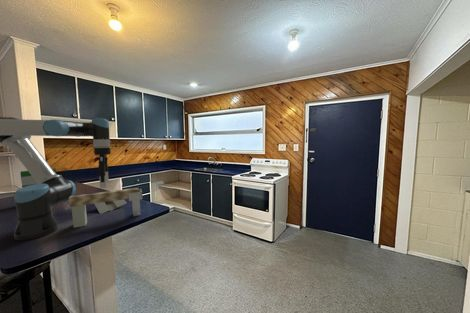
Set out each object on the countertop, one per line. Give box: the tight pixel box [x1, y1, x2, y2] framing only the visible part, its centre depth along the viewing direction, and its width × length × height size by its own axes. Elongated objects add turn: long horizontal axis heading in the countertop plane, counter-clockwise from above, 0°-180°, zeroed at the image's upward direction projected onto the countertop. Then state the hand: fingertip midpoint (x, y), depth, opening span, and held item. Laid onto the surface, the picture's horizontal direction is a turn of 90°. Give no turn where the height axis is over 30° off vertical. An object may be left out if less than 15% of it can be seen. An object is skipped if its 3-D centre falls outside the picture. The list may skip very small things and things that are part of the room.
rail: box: [68, 187, 139, 208], centre depth 108 cm, size 32×4×5 cm, turn 119°
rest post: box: [71, 205, 88, 229], centre depth 103 cm, size 5×5×11 cm
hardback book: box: [20, 168, 57, 188], centre depth 141 cm, size 18×7×24 cm, turn 137°
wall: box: [94, 199, 128, 215], centre depth 130 cm, size 16×9×15 cm
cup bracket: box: [128, 188, 143, 217], centre depth 116 cm, size 7×7×14 cm
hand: (104, 185), depth 108 cm, fingers open, 13 cm apart
